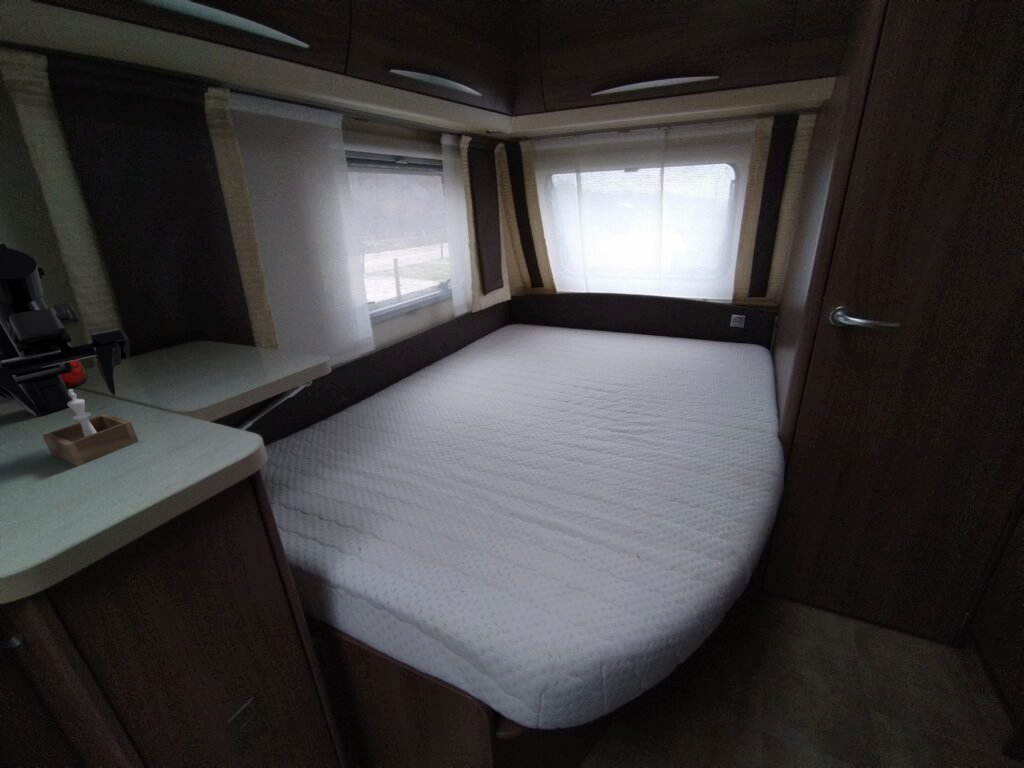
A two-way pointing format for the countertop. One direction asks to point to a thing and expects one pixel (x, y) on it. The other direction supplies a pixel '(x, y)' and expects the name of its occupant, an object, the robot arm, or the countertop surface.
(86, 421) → the chess piece
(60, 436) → the walnut collar
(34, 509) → the countertop surface
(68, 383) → the red clay folk toy
